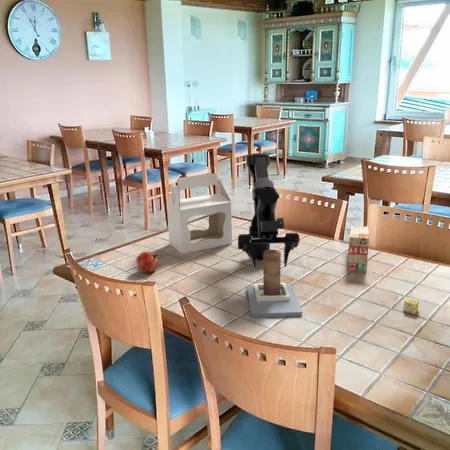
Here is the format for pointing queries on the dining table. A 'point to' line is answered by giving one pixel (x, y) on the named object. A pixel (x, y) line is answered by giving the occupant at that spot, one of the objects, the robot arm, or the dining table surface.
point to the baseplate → (273, 302)
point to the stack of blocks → (358, 248)
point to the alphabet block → (411, 306)
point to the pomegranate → (147, 262)
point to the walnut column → (271, 272)
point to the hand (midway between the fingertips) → (270, 266)
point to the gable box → (204, 205)
